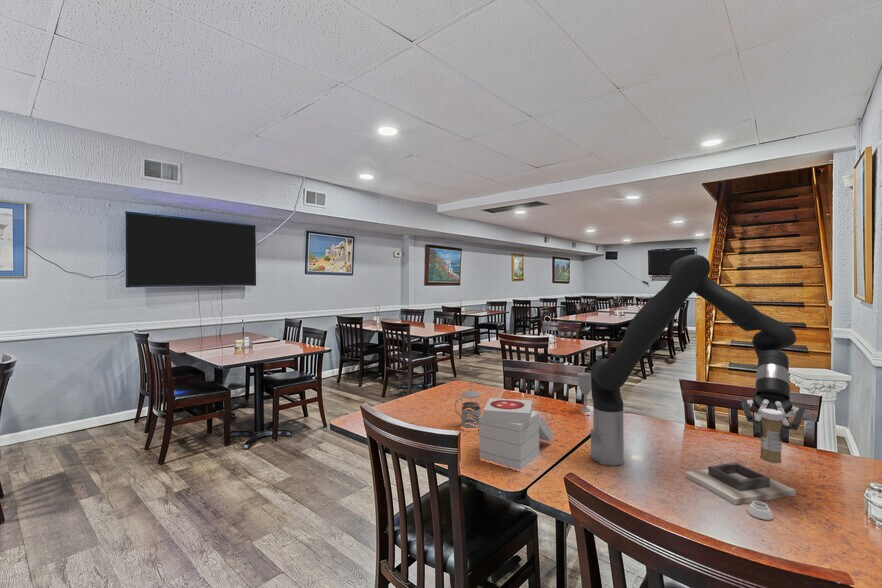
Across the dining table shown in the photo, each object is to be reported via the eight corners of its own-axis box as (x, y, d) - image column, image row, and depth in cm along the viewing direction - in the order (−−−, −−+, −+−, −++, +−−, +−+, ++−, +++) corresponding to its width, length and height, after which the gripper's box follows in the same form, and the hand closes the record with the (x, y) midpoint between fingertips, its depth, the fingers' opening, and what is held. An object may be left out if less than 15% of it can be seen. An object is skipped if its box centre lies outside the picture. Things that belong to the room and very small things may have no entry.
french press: (484, 431, 160) (483, 369, 160) (455, 432, 160) (454, 369, 160) (482, 423, 170) (481, 364, 169) (454, 423, 170) (454, 365, 170)
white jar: (744, 508, 103) (751, 519, 99) (744, 497, 103) (751, 507, 99) (768, 512, 102) (776, 523, 97) (768, 500, 101) (776, 511, 97)
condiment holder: (735, 505, 105) (735, 489, 105) (685, 476, 120) (685, 463, 120) (795, 495, 109) (795, 480, 109) (740, 469, 125) (740, 456, 125)
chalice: (594, 416, 177) (594, 376, 176) (578, 416, 178) (578, 375, 178) (592, 411, 184) (591, 372, 184) (576, 411, 185) (576, 372, 185)
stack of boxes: (558, 444, 146) (557, 395, 146) (523, 476, 122) (522, 417, 122) (510, 434, 157) (510, 388, 157) (470, 461, 133) (469, 407, 133)
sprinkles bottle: (758, 455, 110) (759, 407, 110) (779, 459, 108) (780, 409, 107) (761, 462, 106) (762, 411, 106) (783, 466, 104) (785, 414, 103)
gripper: (740, 372, 117) (737, 425, 108) (807, 380, 107) (809, 438, 98) (741, 387, 121) (737, 438, 112) (805, 395, 112) (807, 452, 103)
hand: (771, 438), depth 105 cm, fingers closed on sprinkles bottle, 4 cm apart
